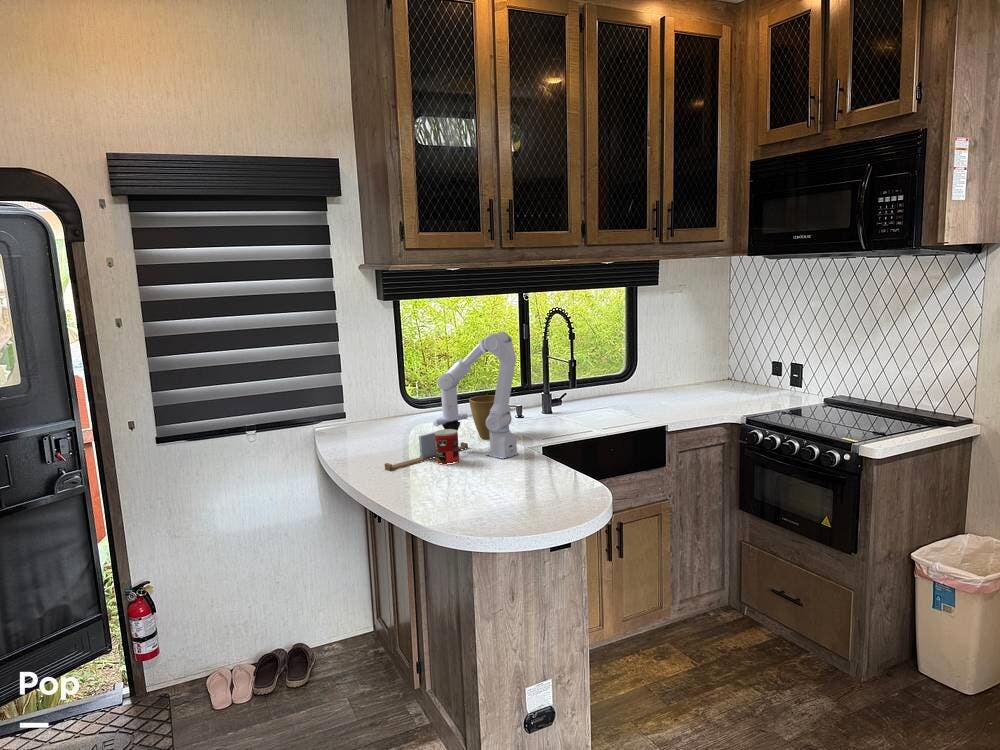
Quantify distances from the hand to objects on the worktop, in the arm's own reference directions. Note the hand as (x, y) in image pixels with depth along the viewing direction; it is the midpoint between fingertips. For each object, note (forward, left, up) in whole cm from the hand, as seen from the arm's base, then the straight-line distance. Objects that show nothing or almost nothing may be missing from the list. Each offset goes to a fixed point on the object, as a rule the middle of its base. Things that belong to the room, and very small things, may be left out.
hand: (452, 441), depth 256 cm
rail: (0, +11, -4) cm, 12 cm away
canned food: (-10, +10, -4) cm, 14 cm away
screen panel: (0, +9, -4) cm, 10 cm away
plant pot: (+4, -23, -4) cm, 23 cm away
